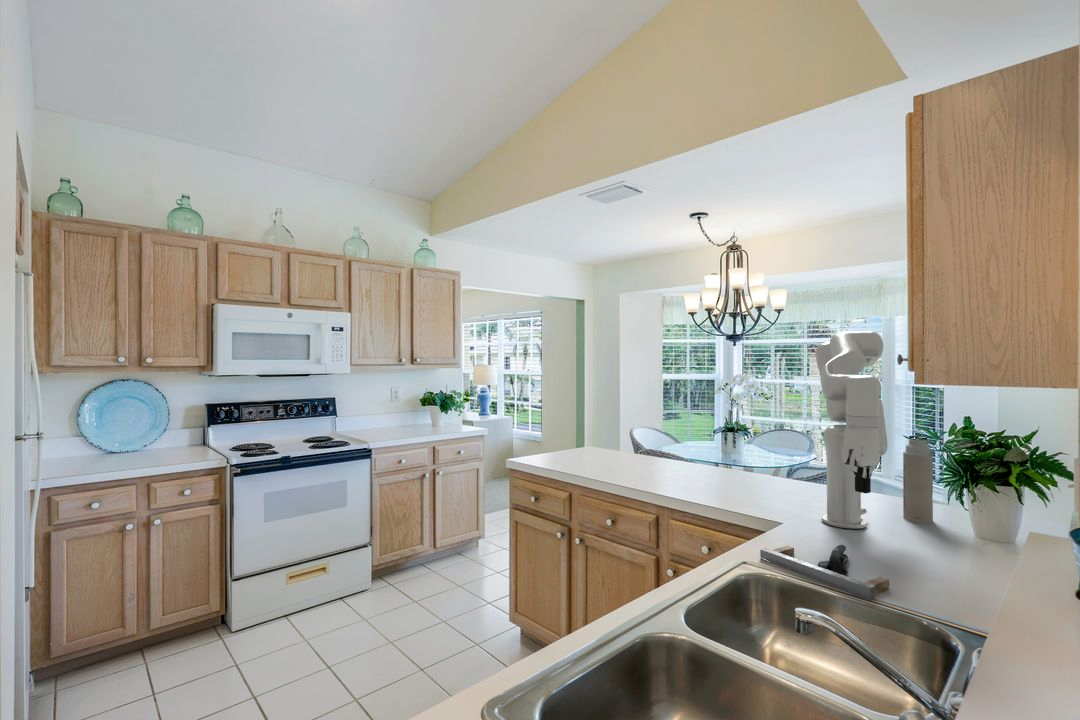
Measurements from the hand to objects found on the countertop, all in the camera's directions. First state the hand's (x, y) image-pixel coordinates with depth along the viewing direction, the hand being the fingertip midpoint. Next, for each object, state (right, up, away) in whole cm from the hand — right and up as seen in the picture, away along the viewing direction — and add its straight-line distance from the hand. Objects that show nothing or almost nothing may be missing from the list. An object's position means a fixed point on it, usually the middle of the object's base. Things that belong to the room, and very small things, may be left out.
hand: (862, 492), depth 140 cm
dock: (-14, -18, -8) cm, 25 cm away
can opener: (-9, -19, -4) cm, 21 cm away
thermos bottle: (+40, -19, +35) cm, 56 cm away
